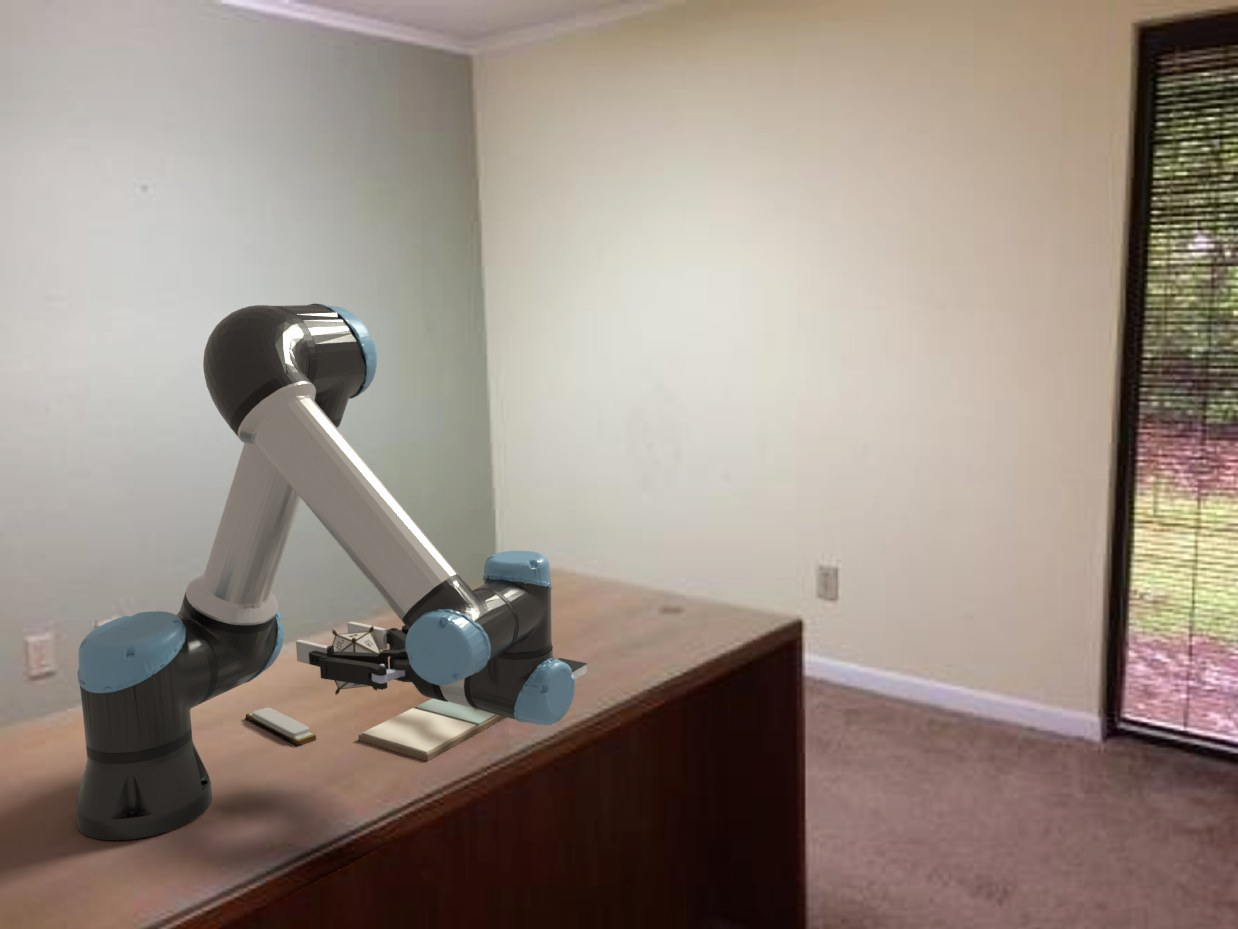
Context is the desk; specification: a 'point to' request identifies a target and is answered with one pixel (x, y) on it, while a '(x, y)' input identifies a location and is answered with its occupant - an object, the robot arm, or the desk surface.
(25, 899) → the desk surface
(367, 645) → the game die
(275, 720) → the harmonica
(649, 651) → the desk surface
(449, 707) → the board
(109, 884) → the desk surface
